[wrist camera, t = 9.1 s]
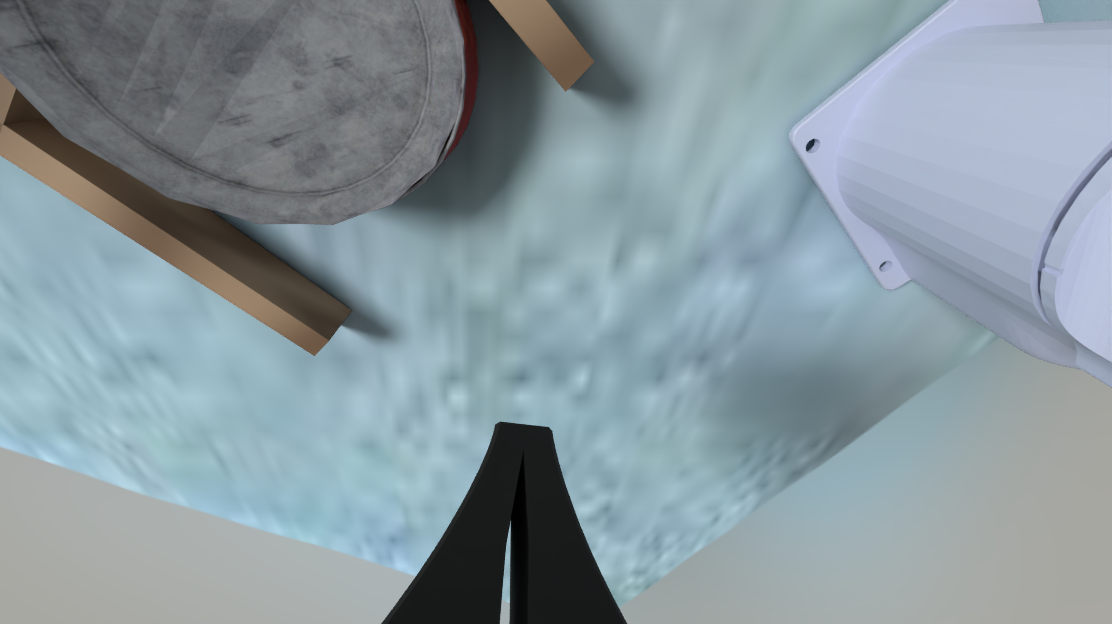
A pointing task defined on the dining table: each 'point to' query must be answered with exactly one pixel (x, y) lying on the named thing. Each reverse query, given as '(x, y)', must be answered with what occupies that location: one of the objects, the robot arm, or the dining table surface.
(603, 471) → the dining table surface
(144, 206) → the brown wooden u-shaped piece
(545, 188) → the dining table surface
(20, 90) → the canned food
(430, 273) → the dining table surface
